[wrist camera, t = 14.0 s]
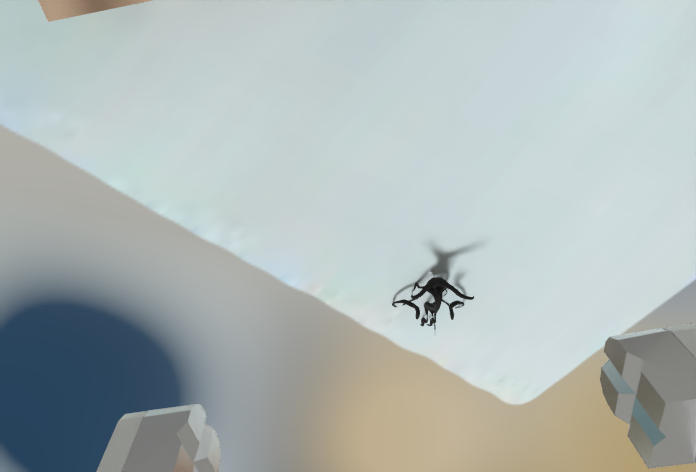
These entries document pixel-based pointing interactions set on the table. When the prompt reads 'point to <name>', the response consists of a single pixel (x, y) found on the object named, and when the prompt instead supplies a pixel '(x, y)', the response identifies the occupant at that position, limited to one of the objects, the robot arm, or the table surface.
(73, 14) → the track
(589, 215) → the table surface
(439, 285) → the creature
